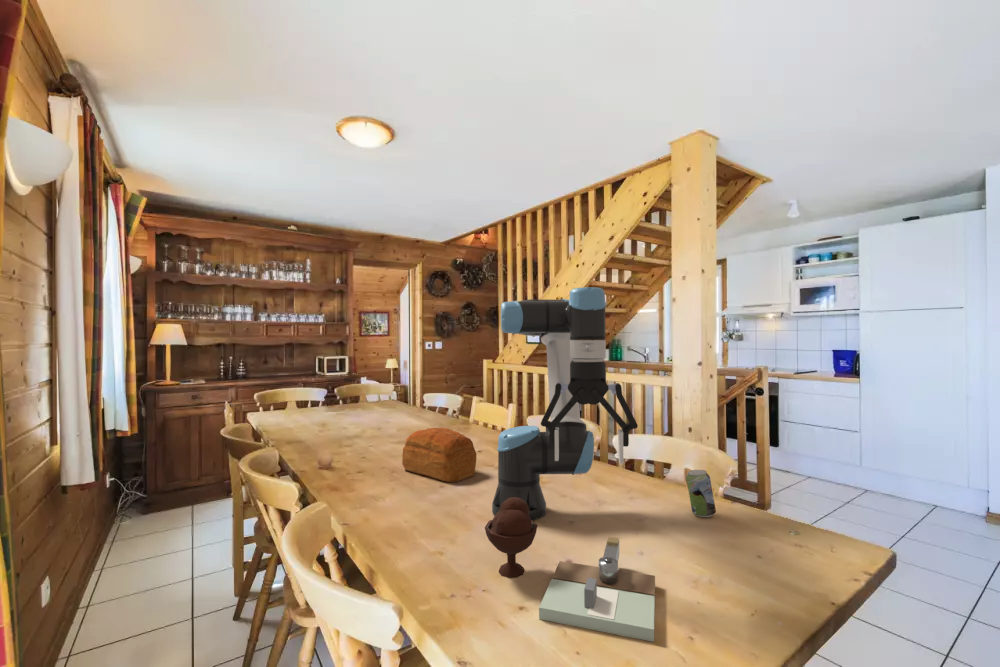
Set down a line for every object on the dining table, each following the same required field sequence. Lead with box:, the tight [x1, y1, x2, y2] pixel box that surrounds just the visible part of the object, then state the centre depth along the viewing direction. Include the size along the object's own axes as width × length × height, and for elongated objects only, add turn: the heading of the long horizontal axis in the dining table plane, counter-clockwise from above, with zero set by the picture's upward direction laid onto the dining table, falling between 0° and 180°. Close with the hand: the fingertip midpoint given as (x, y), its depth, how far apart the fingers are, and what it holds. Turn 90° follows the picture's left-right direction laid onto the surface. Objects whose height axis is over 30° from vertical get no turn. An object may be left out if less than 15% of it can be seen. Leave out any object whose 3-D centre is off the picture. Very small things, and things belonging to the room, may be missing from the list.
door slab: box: [538, 578, 656, 643], centre depth 82 cm, size 19×10×5 cm, turn 71°
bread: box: [401, 427, 477, 483], centre depth 168 cm, size 16×27×16 cm, turn 50°
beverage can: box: [685, 469, 717, 518], centre depth 126 cm, size 6×7×12 cm
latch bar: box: [598, 536, 620, 583], centre depth 93 cm, size 12×4×4 cm, turn 161°
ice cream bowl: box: [484, 497, 538, 579], centre depth 97 cm, size 11×11×15 cm
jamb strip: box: [551, 560, 656, 597], centre depth 91 cm, size 19×7×2 cm, turn 71°
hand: (588, 460), depth 98 cm, fingers open, 13 cm apart
